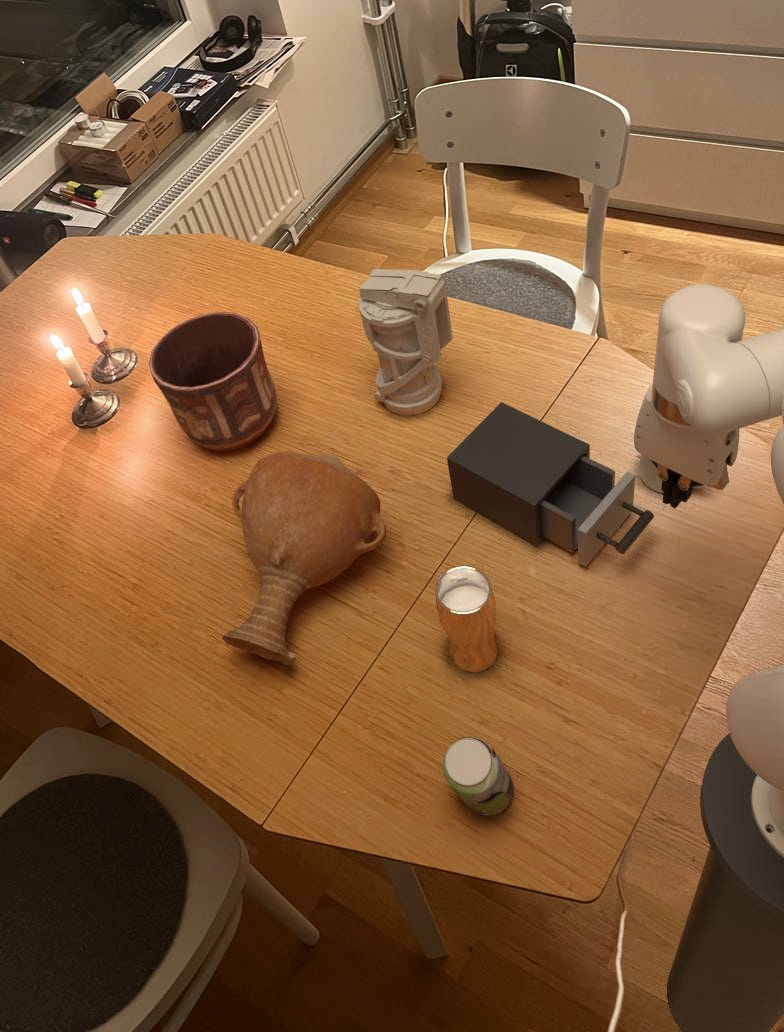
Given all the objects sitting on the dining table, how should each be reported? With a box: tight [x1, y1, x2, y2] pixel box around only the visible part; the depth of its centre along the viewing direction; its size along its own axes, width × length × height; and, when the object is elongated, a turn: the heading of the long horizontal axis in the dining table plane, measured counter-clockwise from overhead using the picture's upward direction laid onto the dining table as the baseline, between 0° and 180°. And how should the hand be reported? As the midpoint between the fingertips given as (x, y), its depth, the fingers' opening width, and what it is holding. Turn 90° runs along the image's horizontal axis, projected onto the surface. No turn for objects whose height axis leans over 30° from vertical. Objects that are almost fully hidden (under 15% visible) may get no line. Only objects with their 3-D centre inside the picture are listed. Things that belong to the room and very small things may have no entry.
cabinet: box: [446, 401, 591, 548], centre depth 129 cm, size 15×13×10 cm
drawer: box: [538, 456, 655, 568], centre depth 123 cm, size 18×11×8 cm, turn 45°
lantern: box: [358, 268, 454, 417], centre depth 140 cm, size 13×10×25 cm
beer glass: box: [434, 565, 499, 673], centre depth 112 cm, size 7×7×15 cm
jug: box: [222, 451, 387, 666], centre depth 124 cm, size 20×19×30 cm
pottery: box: [148, 311, 278, 452], centre depth 148 cm, size 18×18×18 cm
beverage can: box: [442, 736, 514, 817], centre depth 101 cm, size 6×7×12 cm
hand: (675, 497), depth 107 cm, fingers closed
